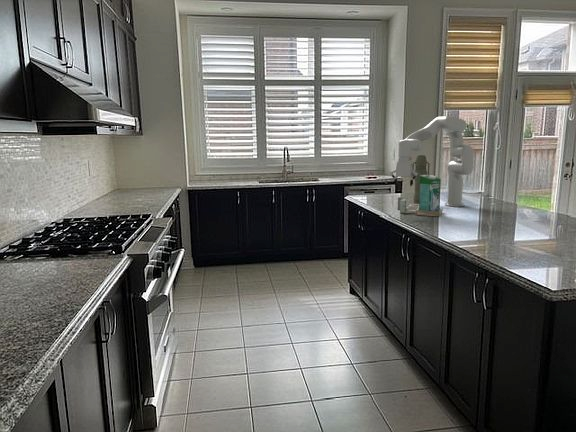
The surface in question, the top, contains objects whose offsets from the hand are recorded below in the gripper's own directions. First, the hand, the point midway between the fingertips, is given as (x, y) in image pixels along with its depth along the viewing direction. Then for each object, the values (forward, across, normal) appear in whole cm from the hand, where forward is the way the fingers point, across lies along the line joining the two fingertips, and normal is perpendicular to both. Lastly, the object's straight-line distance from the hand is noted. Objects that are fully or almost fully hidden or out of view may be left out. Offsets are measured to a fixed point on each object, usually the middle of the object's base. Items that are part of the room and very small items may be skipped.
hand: (403, 185), depth 286 cm
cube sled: (+18, -2, -12) cm, 22 cm away
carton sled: (+18, -11, 0) cm, 21 cm away
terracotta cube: (+18, -6, -12) cm, 22 cm away
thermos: (+18, -5, -39) cm, 43 cm away
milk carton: (+18, -17, 0) cm, 24 cm away
